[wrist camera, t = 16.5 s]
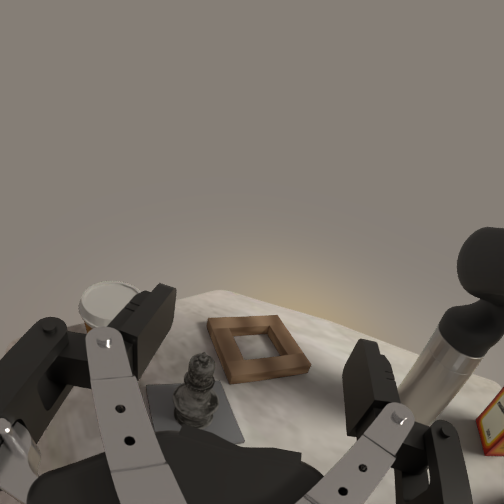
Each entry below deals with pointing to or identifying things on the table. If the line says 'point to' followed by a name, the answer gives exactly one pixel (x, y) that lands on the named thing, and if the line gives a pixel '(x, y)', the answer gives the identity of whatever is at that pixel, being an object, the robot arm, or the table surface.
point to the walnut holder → (262, 368)
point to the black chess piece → (196, 394)
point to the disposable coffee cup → (104, 302)
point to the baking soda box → (492, 426)
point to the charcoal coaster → (165, 420)
